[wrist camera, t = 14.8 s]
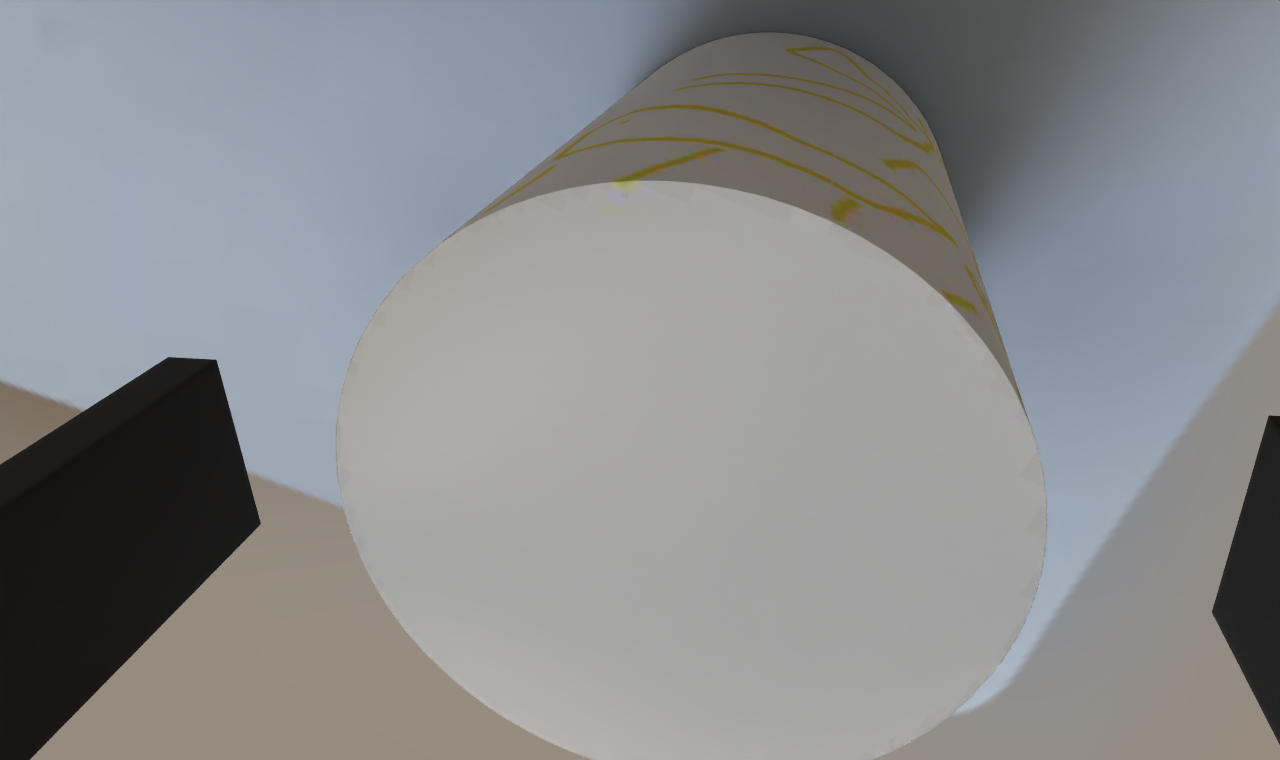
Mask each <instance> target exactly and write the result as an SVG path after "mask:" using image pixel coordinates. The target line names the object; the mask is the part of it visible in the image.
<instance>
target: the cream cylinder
mask: <svg viewBox="0 0 1280 760" xmlns="http://www.w3.org/2000/svg"><path fill="white" fill-rule="evenodd" d="M336 462H337V475H338V481H339V488H340V494H341V499H342V503H343V507H344V512H345V516H346V519H347V522H348V525H349V528H350V531H351V535H352V537H353V540H354V543H355V545H356V547H357V550H358V552H359V555H360V557H361V559H362V562H363V564H364V565H365V568H366V570H367V572H368V574H369V576H370V578H371V580H372V581H373V583H374V585H375V586H376V588H377V590H378V592H379V593H380V595H381V597H382V598H383V600H384V601H385V603H386V604H387V606H388V607H389V609H390V610H391V612H392V613H393V615H394V616H395V617H396V618H397V620H398V621H399V622H400V624H401V625H402V626H403V627H404V629H405V630H406V632H407V633H408V634H409V635H410V636H411V638H412V639H413V640H414V641H415V642H416V643H417V644H418V646H419V647H420V648H421V649H422V650H423V651H424V652H425V653H426V654H427V655H428V656H429V657H430V658H431V659H432V660H433V661H434V662H435V663H436V664H437V665H438V666H439V667H440V668H441V669H442V670H443V671H444V672H445V673H446V674H447V675H449V676H450V677H451V678H452V679H453V680H454V681H455V682H456V683H458V684H459V685H460V686H461V687H463V688H464V689H465V690H466V691H468V692H469V693H470V694H471V695H473V696H474V697H475V698H477V699H478V700H479V701H481V702H482V703H484V704H485V705H487V706H488V707H489V708H491V709H492V710H494V711H495V712H497V713H498V714H500V715H501V716H503V717H505V718H506V719H508V720H509V721H511V722H513V723H514V724H517V725H518V726H520V727H521V728H523V729H525V730H527V731H529V732H530V733H532V734H534V735H536V736H538V737H540V738H542V739H544V740H547V741H548V742H550V743H552V744H555V745H557V746H560V747H562V748H564V749H566V750H569V751H571V752H573V753H576V754H579V755H581V756H584V757H587V758H589V759H592V760H872V759H875V758H877V757H879V756H881V755H884V754H886V753H888V752H891V751H893V750H895V749H897V748H899V747H901V746H903V745H905V744H907V743H908V742H910V741H912V740H914V739H916V738H918V737H919V736H921V735H922V734H924V733H926V732H927V731H929V730H930V729H932V728H933V727H935V726H936V725H938V724H939V723H941V722H942V721H943V720H945V719H946V718H947V717H949V716H950V715H951V714H953V713H954V712H955V711H956V710H957V709H958V708H960V707H961V706H962V705H963V704H964V703H965V702H966V701H967V700H969V699H970V698H971V697H972V696H973V695H974V694H975V693H976V692H977V691H978V690H979V688H980V687H981V686H982V685H983V684H984V683H985V682H986V681H987V680H988V679H989V678H990V676H991V675H992V674H993V672H994V671H995V670H996V669H997V667H998V666H999V665H1000V664H1001V662H1002V661H1003V659H1004V658H1005V656H1006V655H1007V653H1008V652H1009V650H1010V649H1011V647H1012V645H1013V644H1014V642H1015V641H1016V639H1017V637H1018V635H1019V633H1020V631H1021V629H1022V627H1023V625H1024V623H1025V621H1026V619H1027V616H1028V614H1029V611H1030V609H1031V606H1032V604H1033V601H1034V599H1035V595H1036V592H1037V588H1038V585H1039V581H1040V578H1041V574H1042V568H1043V563H1044V557H1045V551H1046V539H1047V498H1046V490H1045V482H1044V475H1043V470H1042V465H1041V461H1040V457H1039V453H1038V448H1037V445H1036V442H1035V439H1034V436H1033V433H1032V430H1031V427H1030V424H1029V420H1028V417H1027V414H1026V411H1025V408H1024V405H1023V402H1022V399H1021V396H1020V393H1019V390H1018V387H1017V384H1016V381H1015V378H1014V375H1013V372H1012V369H1011V366H1010V363H1009V360H1008V357H1007V354H1006V351H1005V348H1004V345H1003V341H1002V338H1001V335H1000V332H999V329H998V326H997V323H996V320H995V317H994V314H993V311H992V308H991V305H990V302H989V299H988V296H987V293H986V290H985V287H984V284H983V281H982V278H981V275H980V272H979V269H978V266H977V262H976V259H975V256H974V253H973V250H972V247H971V244H970V241H969V238H968V235H967V232H966V229H965V226H964V223H963V220H962V217H961V214H960V211H959V208H958V205H957V202H956V199H955V196H954V193H953V190H952V187H951V183H950V180H949V177H948V174H947V171H946V168H945V165H944V162H943V159H942V156H941V153H940V150H939V147H938V145H937V142H936V140H935V138H934V136H933V133H932V131H931V129H930V128H929V126H928V124H927V122H926V120H925V119H924V117H923V115H922V114H921V112H920V111H919V109H918V108H917V106H916V105H915V104H914V103H913V101H912V100H911V99H910V98H909V96H908V95H907V94H906V93H905V92H904V91H903V90H902V89H901V88H900V87H899V86H898V84H897V83H895V82H894V81H893V80H892V79H891V78H890V77H889V76H888V75H886V74H885V73H884V72H883V71H881V70H880V69H879V68H877V67H876V66H875V65H873V64H872V63H870V62H869V61H867V60H865V59H864V58H862V57H861V56H859V55H857V54H855V53H853V52H851V51H849V50H847V49H845V48H842V47H840V46H837V45H835V44H832V43H830V42H826V41H823V40H820V39H817V38H812V37H808V36H803V35H797V34H789V33H775V32H764V33H749V34H740V35H735V36H730V37H725V38H722V39H718V40H715V41H711V42H708V43H706V44H703V45H701V46H698V47H696V48H693V49H691V50H689V51H687V52H685V53H683V54H681V55H679V56H678V57H676V58H674V59H673V60H671V61H669V62H668V63H666V64H665V65H664V66H662V67H661V68H659V69H658V70H657V71H655V72H654V73H653V74H652V75H650V76H649V77H648V78H647V79H645V80H644V81H643V82H642V83H640V84H639V85H638V86H637V87H635V88H634V89H633V90H632V91H630V92H629V93H628V94H627V95H625V96H624V97H623V98H622V99H620V100H619V101H618V102H617V103H615V104H614V105H613V106H612V107H610V108H609V109H608V110H607V111H605V112H604V113H603V114H602V115H600V116H599V117H598V118H597V119H595V120H594V121H593V122H592V123H590V124H589V125H588V126H587V127H585V128H584V129H583V130H582V131H580V132H579V133H578V134H577V135H575V136H574V137H573V138H572V139H570V140H569V141H568V142H567V143H565V144H564V145H563V146H562V147H560V148H559V149H558V150H557V151H555V152H554V153H553V154H552V155H550V156H549V157H548V158H547V159H545V160H544V161H543V162H542V163H540V164H539V165H538V166H537V167H535V168H534V169H533V170H532V171H530V172H529V173H528V174H527V175H525V176H524V177H523V178H522V179H520V180H519V181H518V182H517V183H515V184H514V185H513V186H512V187H510V188H509V189H508V190H507V191H505V192H504V193H503V194H502V195H500V196H499V197H498V198H497V199H495V200H494V201H493V202H492V203H490V204H489V205H488V206H487V207H485V208H484V209H483V210H482V211H480V212H479V213H478V214H477V215H475V216H474V217H473V218H472V219H470V220H469V221H468V222H467V223H465V224H464V225H463V226H462V227H460V228H459V229H458V230H457V231H455V232H454V233H453V234H452V235H450V236H449V237H448V238H447V239H445V240H444V241H443V242H442V243H440V244H439V245H438V246H437V247H436V248H434V249H433V250H432V251H431V252H429V253H428V254H427V255H426V256H425V257H423V258H422V259H421V260H420V261H419V262H417V263H416V264H415V265H414V266H413V267H412V268H411V269H410V270H409V271H408V272H407V273H406V274H405V275H404V276H403V277H402V278H401V279H400V280H399V282H398V283H397V284H396V285H395V287H394V288H393V289H392V290H391V291H390V293H389V294H388V295H387V296H386V297H385V299H384V300H383V302H382V303H381V304H380V306H379V307H378V309H377V310H376V312H375V313H374V315H373V316H372V318H371V319H370V321H369V323H368V325H367V327H366V329H365V330H364V332H363V334H362V336H361V338H360V340H359V342H358V344H357V347H356V349H355V352H354V354H353V356H352V359H351V361H350V364H349V367H348V370H347V374H346V377H345V380H344V383H343V388H342V393H341V398H340V402H339V408H338V417H337V426H336Z"/></svg>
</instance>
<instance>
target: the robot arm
mask: <svg viewBox="0 0 1280 760" xmlns="http://www.w3.org/2000/svg"><path fill="white" fill-rule="evenodd" d="M260 524H261V523H260V519H259V516H258V512H257V508H256V505H255V501H254V497H253V494H252V490H251V486H250V482H249V479H248V475H247V471H246V467H245V464H244V460H243V456H242V453H241V449H240V445H239V442H238V438H237V434H236V430H235V427H234V423H233V419H232V416H231V412H230V408H229V405H228V401H227V397H226V393H225V390H224V386H223V382H222V379H221V375H220V371H219V368H218V364H217V360H210V359H191V358H173V357H168V358H166V359H165V360H163V361H162V362H160V363H159V364H157V365H155V366H154V367H152V368H151V369H149V370H148V371H146V372H144V373H143V374H141V375H140V376H138V377H137V378H135V379H134V380H132V381H130V382H129V383H127V384H126V385H124V386H123V387H121V388H119V389H118V390H116V391H115V392H113V393H112V394H110V395H109V396H107V397H105V398H104V399H102V400H101V401H99V402H98V403H96V404H94V405H93V406H91V407H90V408H88V409H87V410H85V411H84V412H82V413H80V414H79V415H77V416H76V417H74V418H73V419H71V420H69V421H68V422H66V423H65V424H64V425H62V426H60V427H59V428H57V429H55V430H54V431H52V432H51V433H49V434H48V435H46V436H44V437H43V438H41V439H40V440H38V441H37V442H35V443H34V444H32V445H30V446H29V447H27V448H26V449H24V450H23V451H21V452H19V453H18V454H17V455H15V456H13V457H12V458H10V459H9V460H7V461H5V462H4V463H2V464H1V465H0V760H30V759H31V758H32V757H33V756H34V755H35V754H36V753H37V751H39V750H40V749H41V748H42V746H43V745H45V744H46V742H47V741H48V740H49V739H50V738H51V737H52V736H53V735H54V734H55V733H56V732H57V731H58V730H59V729H60V728H61V727H62V726H63V725H64V724H65V723H66V722H67V721H68V720H69V719H70V718H71V717H72V716H73V715H74V714H75V713H76V712H77V711H78V710H79V709H80V708H81V707H82V706H83V705H84V704H85V703H86V702H87V701H88V700H89V699H90V698H91V696H93V695H94V693H95V692H96V691H98V689H99V688H100V687H101V686H102V685H103V684H104V683H105V682H106V681H107V680H108V679H109V678H110V677H111V676H112V675H113V674H114V673H115V672H116V671H117V670H118V669H119V668H120V667H121V666H122V665H123V664H124V663H125V662H126V661H127V660H128V659H129V658H130V657H131V656H132V655H133V654H134V653H135V652H136V651H137V650H138V649H139V648H140V647H141V646H142V645H143V644H144V642H146V641H147V639H149V637H150V636H151V635H152V634H153V633H154V632H155V631H156V630H157V629H158V628H159V627H160V626H161V625H162V624H163V623H164V622H165V621H166V620H167V619H168V618H169V617H170V616H171V615H172V614H173V613H174V612H175V611H176V610H177V609H178V608H179V607H180V606H181V605H182V604H183V603H184V602H185V601H186V600H187V599H188V598H189V597H190V596H191V595H192V594H193V593H194V592H195V591H196V590H197V589H198V588H199V587H200V585H201V584H202V583H203V582H204V581H205V580H206V579H207V578H208V577H209V576H210V575H211V574H212V573H213V572H214V571H215V570H216V569H217V568H218V567H219V566H220V565H221V564H222V563H223V562H224V561H225V560H226V559H227V558H228V557H229V556H230V555H231V554H232V553H233V552H234V551H235V550H236V549H237V548H238V547H239V546H240V545H241V544H242V543H243V542H244V541H245V540H246V539H247V538H248V537H249V536H250V535H251V534H252V533H253V531H254V530H255V529H256V528H257V527H258V526H259V525H260ZM1212 613H1213V615H1214V617H1215V619H1216V621H1217V623H1218V625H1219V627H1220V629H1221V631H1222V633H1223V635H1224V637H1225V639H1226V641H1227V643H1228V644H1229V646H1230V648H1231V650H1232V652H1233V654H1234V656H1235V658H1236V660H1237V662H1238V664H1239V666H1240V668H1241V670H1242V672H1243V674H1244V675H1245V678H1246V680H1247V682H1248V684H1249V686H1250V688H1251V689H1252V691H1253V693H1254V695H1255V697H1256V699H1257V701H1258V703H1259V705H1260V707H1261V709H1262V711H1263V713H1264V715H1265V717H1266V719H1267V721H1268V723H1269V725H1270V727H1271V729H1272V730H1273V732H1274V734H1275V736H1276V738H1277V740H1278V742H1279V744H1280V416H1269V417H1268V421H1267V424H1266V427H1265V431H1264V434H1263V437H1262V441H1261V444H1260V448H1259V451H1258V455H1257V458H1256V462H1255V465H1254V469H1253V472H1252V476H1251V479H1250V483H1249V486H1248V489H1247V493H1246V496H1245V500H1244V503H1243V507H1242V510H1241V514H1240V517H1239V521H1238V524H1237V528H1236V531H1235V535H1234V538H1233V541H1232V545H1231V548H1230V552H1229V555H1228V559H1227V562H1226V565H1225V569H1224V572H1223V576H1222V579H1221V583H1220V586H1219V590H1218V593H1217V597H1216V600H1215V604H1214V607H1213V610H1212Z"/></svg>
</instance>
